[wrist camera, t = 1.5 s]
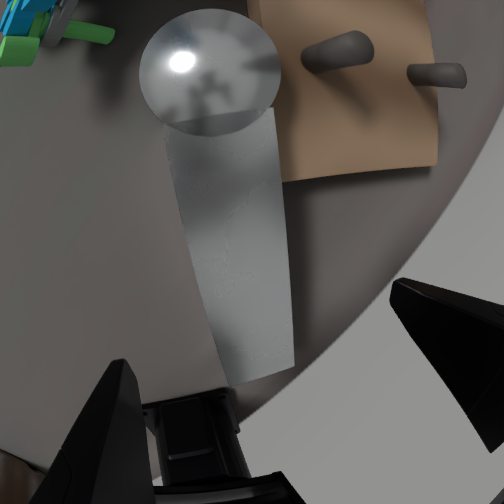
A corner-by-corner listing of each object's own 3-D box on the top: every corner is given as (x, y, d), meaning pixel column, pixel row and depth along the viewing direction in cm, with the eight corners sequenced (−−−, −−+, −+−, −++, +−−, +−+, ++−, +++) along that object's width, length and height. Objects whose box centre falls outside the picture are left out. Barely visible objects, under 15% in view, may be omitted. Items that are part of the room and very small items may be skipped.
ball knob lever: (281, 328, 17) (302, 363, 14) (209, 350, 16) (220, 389, 13) (245, 30, 9) (271, 6, 7) (139, 45, 8) (132, 21, 6)
